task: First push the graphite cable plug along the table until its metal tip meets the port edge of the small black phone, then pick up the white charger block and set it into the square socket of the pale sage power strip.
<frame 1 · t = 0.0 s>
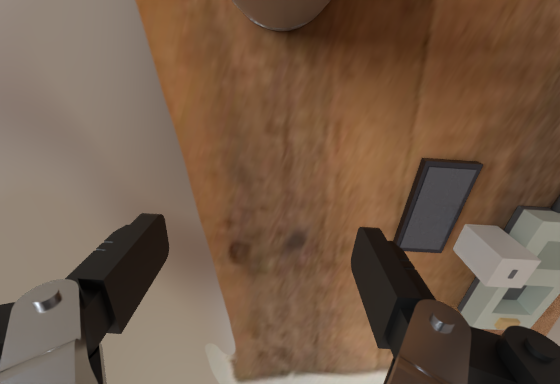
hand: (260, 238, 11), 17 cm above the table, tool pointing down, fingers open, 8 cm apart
strip: (513, 265, 34), on the table
charger: (474, 237, 32), on the table
phone: (429, 206, 30), on the table
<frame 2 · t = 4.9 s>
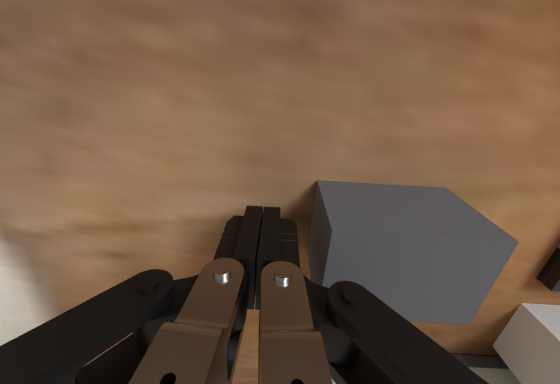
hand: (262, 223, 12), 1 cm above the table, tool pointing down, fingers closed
plug: (372, 220, 12), on the table, touching gripper
charger: (537, 327, 16), on the table
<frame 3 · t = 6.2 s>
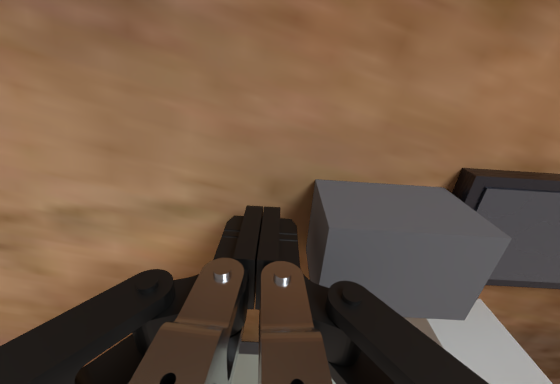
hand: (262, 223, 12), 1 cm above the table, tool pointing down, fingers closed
plug: (369, 218, 13), on the table
strip: (351, 381, 19), on the table
charger: (435, 320, 16), on the table
phone: (551, 227, 13), on the table
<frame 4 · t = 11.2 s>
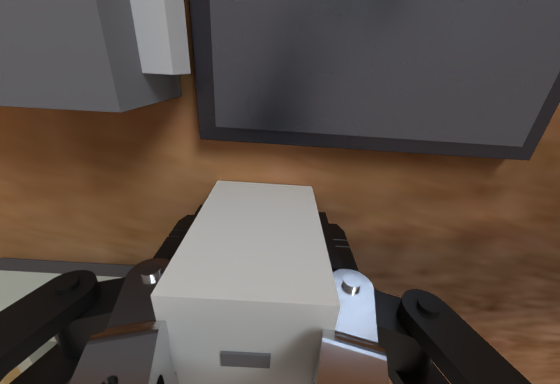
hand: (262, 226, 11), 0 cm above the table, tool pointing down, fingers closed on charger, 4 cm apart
plug: (85, 26, 8), on the table
strip: (189, 321, 15), on the table
charger: (263, 223, 12), on the table, touching gripper
phone: (374, 57, 9), on the table
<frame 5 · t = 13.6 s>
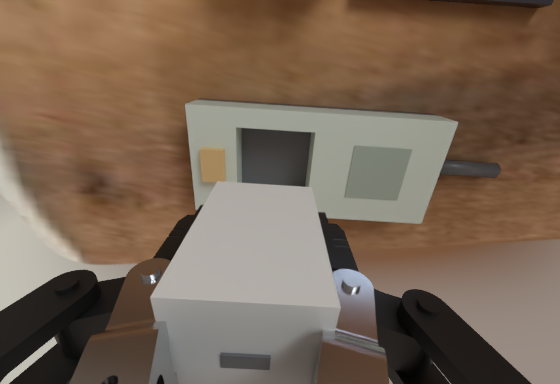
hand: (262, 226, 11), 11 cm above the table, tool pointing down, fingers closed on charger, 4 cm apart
strip: (311, 156, 21), on the table
charger: (263, 223, 12), point 11 cm above the table, touching gripper
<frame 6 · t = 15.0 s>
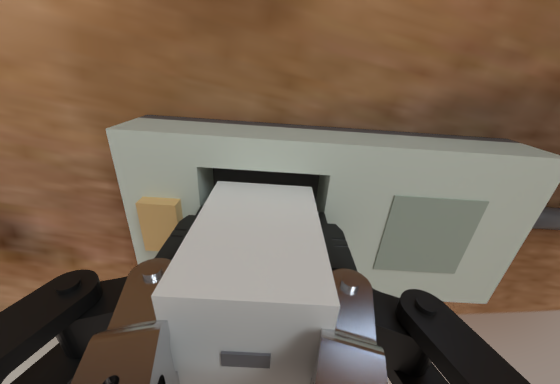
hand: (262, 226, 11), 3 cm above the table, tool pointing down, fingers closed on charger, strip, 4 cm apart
strip: (318, 198, 14), on the table
charger: (263, 223, 12), point 3 cm above the table, touching gripper
when the fingers open (3 cm above the table, at t = 16.0 s): charger drops 2 cm, resting on strip.
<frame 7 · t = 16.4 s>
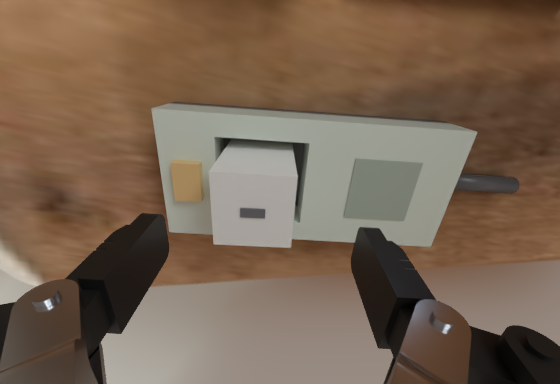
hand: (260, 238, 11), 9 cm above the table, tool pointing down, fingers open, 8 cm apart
strip: (304, 168, 18), on the table
charger: (261, 169, 18), point 1 cm above the table, touching strip
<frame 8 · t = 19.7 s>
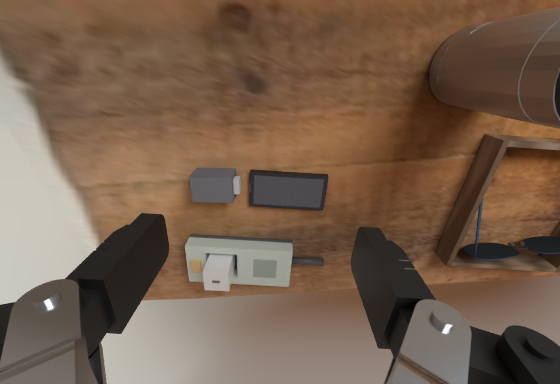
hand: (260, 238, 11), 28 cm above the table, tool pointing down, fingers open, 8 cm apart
sunglasses: (516, 203, 41), resting in valet tray
plug: (217, 179, 40), on the table
valet tray: (516, 203, 41), on the table
strip: (241, 254, 47), on the table
charger: (223, 256, 46), point 1 cm above the table, touching strip
phone: (287, 188, 41), on the table
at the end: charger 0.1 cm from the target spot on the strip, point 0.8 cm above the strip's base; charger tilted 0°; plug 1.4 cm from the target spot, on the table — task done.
